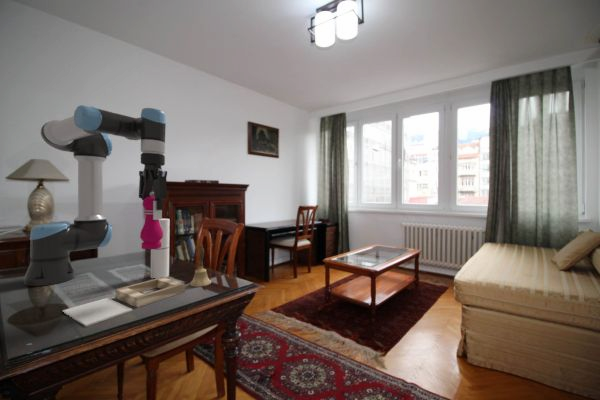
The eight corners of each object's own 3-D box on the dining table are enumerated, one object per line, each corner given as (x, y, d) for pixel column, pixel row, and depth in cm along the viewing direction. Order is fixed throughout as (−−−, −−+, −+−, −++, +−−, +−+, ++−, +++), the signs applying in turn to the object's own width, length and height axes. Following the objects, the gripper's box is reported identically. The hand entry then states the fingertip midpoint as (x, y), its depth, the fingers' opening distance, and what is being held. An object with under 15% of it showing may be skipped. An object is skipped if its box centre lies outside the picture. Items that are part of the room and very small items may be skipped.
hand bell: (187, 287, 105) (188, 246, 104) (191, 280, 113) (192, 242, 112) (210, 286, 106) (210, 246, 106) (212, 279, 114) (213, 242, 114)
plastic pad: (62, 312, 81) (62, 310, 81) (107, 299, 91) (107, 297, 91) (85, 326, 73) (85, 324, 73) (132, 310, 83) (132, 309, 83)
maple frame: (115, 297, 92) (115, 289, 92) (162, 284, 107) (162, 276, 107) (137, 307, 85) (137, 298, 85) (184, 291, 100) (184, 283, 100)
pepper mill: (153, 250, 92) (153, 191, 91) (134, 248, 93) (135, 191, 93) (167, 246, 99) (168, 192, 98) (150, 245, 100) (151, 191, 100)
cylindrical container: (150, 279, 113) (150, 220, 112) (150, 274, 119) (151, 218, 118) (169, 277, 116) (169, 219, 115) (168, 272, 122) (169, 218, 122)
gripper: (179, 153, 93) (178, 219, 94) (148, 156, 103) (147, 216, 104) (158, 150, 87) (157, 221, 87) (127, 153, 97) (127, 217, 97)
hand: (152, 218), depth 96 cm, fingers closed on pepper mill, 6 cm apart
